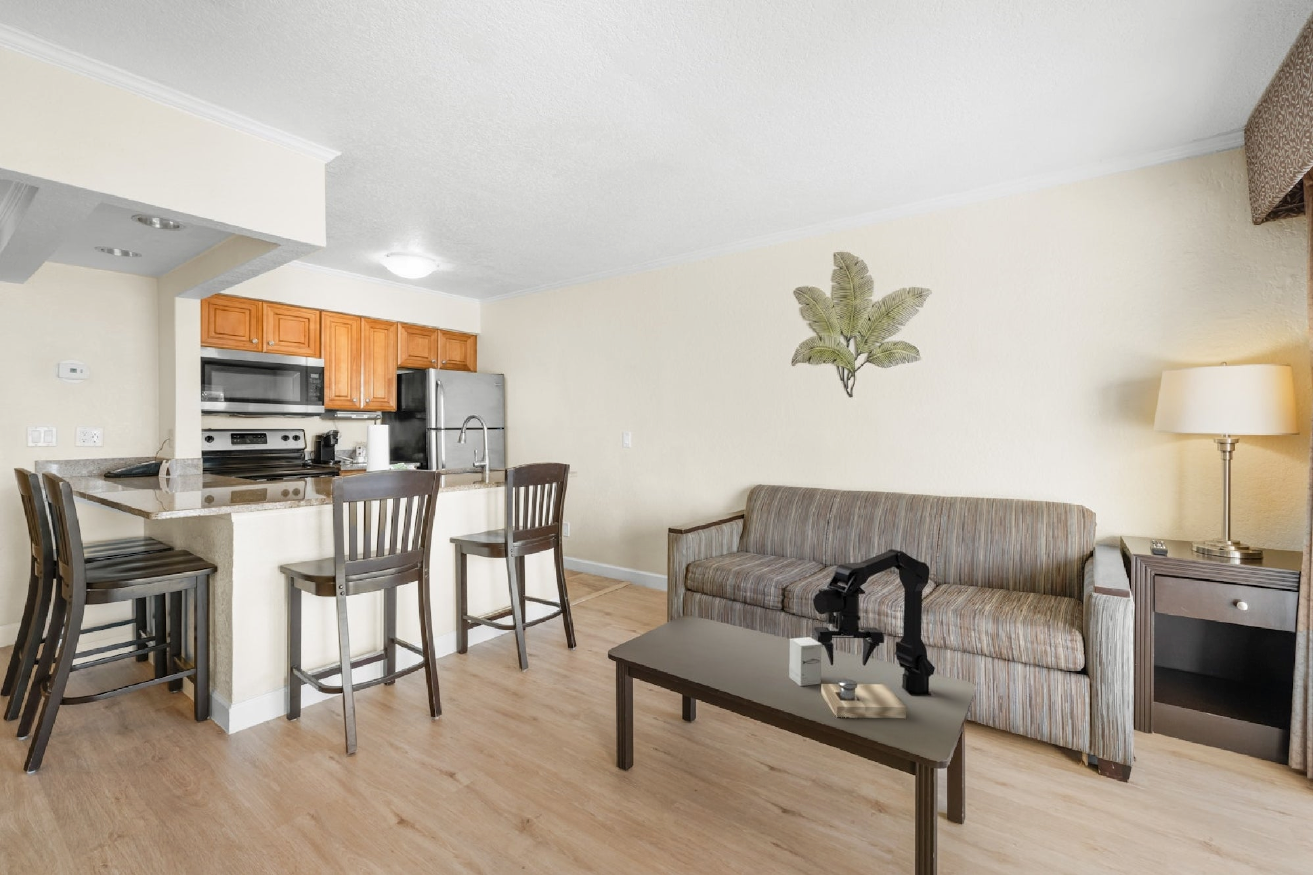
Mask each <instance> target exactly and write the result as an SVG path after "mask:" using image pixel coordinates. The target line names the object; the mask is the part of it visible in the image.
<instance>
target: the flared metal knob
mask: <svg viewBox="0 0 1313 875" xmlns="http://www.w3.org/2000/svg"><path fill="white" fill-rule="evenodd" d="M837 684H838V685H839V686H840V700H841V701H855V689H856V688H857V684H858V682H857V681H856V680H854V679H849V678H840V679H838V681H837Z"/></svg>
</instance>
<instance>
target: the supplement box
mask: <svg viewBox="0 0 1313 875" xmlns="http://www.w3.org/2000/svg"><path fill="white" fill-rule="evenodd" d="M788 667H789V670H788V671H789V672H788V675H789V676H788V678H790V680H792V681H793V682H794V683H796V684H797V685H798V687H799V686H800V687H803V686H811V685H812V686H813V685H821V684H822V683H821V682H822V644H821V643H820V642H818V641H817V640H816V639H815V638H812V637H811V636H808V637H794V638H789V666H788Z"/></svg>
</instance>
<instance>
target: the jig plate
mask: <svg viewBox="0 0 1313 875" xmlns="http://www.w3.org/2000/svg"><path fill="white" fill-rule="evenodd" d="M820 685H821V689H820V690H821V691H820V693H821V694H820V695H821V696H822V697H823V699H824V700H825V702H826V704H827V705H828V706H829V708H830V710H831V711H832V712H833V714H834V715H836V716H835V717H836V718H837V717H841V718H842V717H845V718H846V717H849V719H851V718H853V719H859V718H860V719H861V718H862V719H864V718H865V719H907V707H906V705H905V704H904V703H903V701H901V700H900V699H899V698H898V696H896V695H895V693H894V692H893V691H892V690H891V689H890V688H889V687H888V686H887V685H886V684H880V683H879V684H878V683H877V684H876V683H875V684H872V683H870V684H869V683H867V684H864V683H861V684H860V683H857V688H856V689H855V701H841V700H840V686H839V685H838V683H821V684H820ZM858 717H859V718H858ZM841 718H840V719H841Z"/></svg>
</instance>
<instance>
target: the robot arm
mask: <svg viewBox="0 0 1313 875" xmlns="http://www.w3.org/2000/svg"><path fill="white" fill-rule="evenodd" d="M835 568H836V569H835V571H834V573H833V574H832V576H831V578H830V580H829V581H828V583H827V585H826V588H818V592H817V593H816V594H815V595H814V598H813V601H812V602H813V607H814V608H815V611H816V612H817V614H819V615H825V623H826V624H827V625H832V628H834V629H835V630H830V629H829V627H828V626H815V627H813V629H812V636H813V639H814V640H816V641H817V642H819V643H820V644H821V646H824V648H825V651H826V653H827V657H828V660H829V663H830V665H831V666H834V643H833V642H832V641H833V639H862V644H863V647H862V648H863V649H862V659H861V660H862V665H863V667H865V666H866V665H867V663H868V661H869V659H870V657H871V656H872V654H873V652H874V651H875V649H876V647H880V644H884V643H885V634H884V633H883V632H882V631H881V630H880V629H879V628H878V627H877V626H876V627H874V626H873V627H871V626H870V627H869V626H865V627H864V628H863V630H859V629H860V621H861V616H860V595H865V594H866V591H865V589H863V588H862V586H863V585H865V584H866V583H867V582H868V580H869V579H870V578H872V576H875V575H878V574H880V573H883V572H885V571H887V570H889V569H891V568H894V569H896V570H897V571H898V578H899V581H900V583H901V585H902V587H903V589H904V594H903V595H904V600H903V635H902V637H901V639H900V640H899V641H896V642H895V653H894V655H895V656H896V660H897V661H898V664H899V668H903V673H902V682H901V684H902V685H901V688H903V690H904V691H905V692H906V693H907V694H908V695H910V696H932V692H930V677H931V676H932V675H934V673H935V669H936V668H935V666H934V665H933V664H932V662H931V661H930V660H929V659H928V652H927V647H926V646H925V643H924V642H923V640H922V628H923V627H922V624H923V620H922V619H923V618H922V617H923V592H924V589H925V588H926V587H927V585H928V584H929V580H930V574H931V572H930V570H931V569H930V567H929V566H928V565H927V563H926V562H923V561H920V560H917V559H916V558H914V557H911V556H910V555H909V554H907V553H906V552H904V551H903V550H898V549H895V548H890V549H887V550H886V551H885V552H883V553H880V554H878V555H876V556H875V555H874V556H872V557H870V558H868V559H865V560H863V561H860V562H847V563H842V564H841V563H840V564H839V565H837V566H836V567H835ZM835 613H836V615H835Z"/></svg>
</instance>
